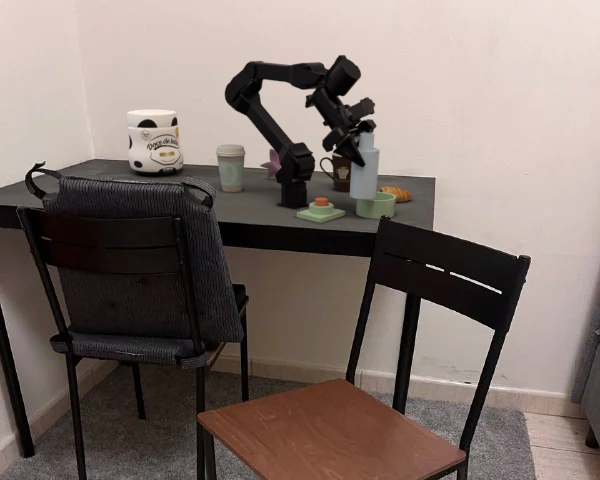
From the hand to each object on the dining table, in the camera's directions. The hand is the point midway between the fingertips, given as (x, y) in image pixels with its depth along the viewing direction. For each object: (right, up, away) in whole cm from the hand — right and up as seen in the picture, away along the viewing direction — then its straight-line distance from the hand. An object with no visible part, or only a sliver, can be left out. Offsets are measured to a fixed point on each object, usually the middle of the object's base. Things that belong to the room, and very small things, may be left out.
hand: (370, 163), depth 149 cm
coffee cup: (-37, +5, +33) cm, 50 cm away
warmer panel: (-12, -10, +9) cm, 18 cm away
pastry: (+9, -1, +25) cm, 27 cm away
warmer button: (-12, -8, +7) cm, 16 cm away
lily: (-23, +11, +44) cm, 51 cm away
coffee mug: (-5, +6, +36) cm, 37 cm away
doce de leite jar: (-63, +17, +52) cm, 84 cm away
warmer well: (+3, -8, +12) cm, 15 cm away
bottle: (-1, -6, +5) cm, 8 cm away
